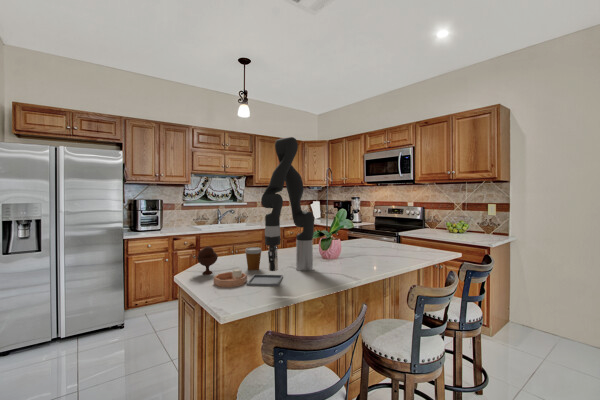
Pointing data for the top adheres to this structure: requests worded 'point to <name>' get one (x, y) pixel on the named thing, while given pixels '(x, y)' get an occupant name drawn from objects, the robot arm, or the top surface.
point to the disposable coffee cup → (253, 258)
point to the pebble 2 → (275, 264)
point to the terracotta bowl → (229, 280)
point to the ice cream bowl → (207, 258)
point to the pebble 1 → (236, 274)
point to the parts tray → (264, 280)
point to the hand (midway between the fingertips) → (273, 269)
